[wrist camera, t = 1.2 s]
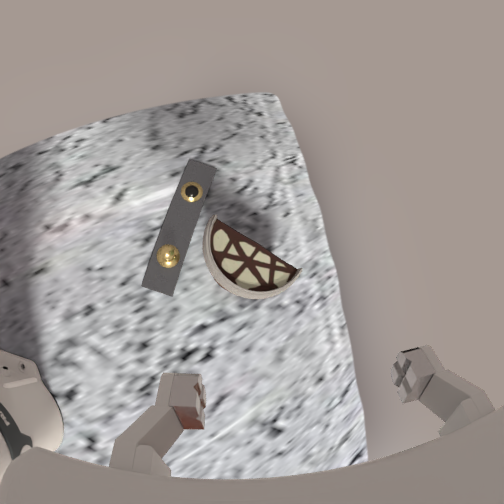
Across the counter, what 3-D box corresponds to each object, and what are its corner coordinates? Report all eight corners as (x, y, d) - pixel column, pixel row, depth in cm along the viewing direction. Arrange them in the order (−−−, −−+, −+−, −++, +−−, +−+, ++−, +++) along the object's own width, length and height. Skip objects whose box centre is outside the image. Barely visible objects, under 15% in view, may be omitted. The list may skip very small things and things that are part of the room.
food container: (182, 272, 39) (181, 257, 30) (205, 236, 41) (212, 211, 32) (258, 319, 40) (281, 319, 31) (279, 281, 42) (306, 270, 33)
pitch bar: (142, 286, 38) (138, 283, 34) (189, 161, 43) (190, 149, 40) (172, 296, 38) (171, 294, 35) (216, 170, 44) (219, 158, 40)
